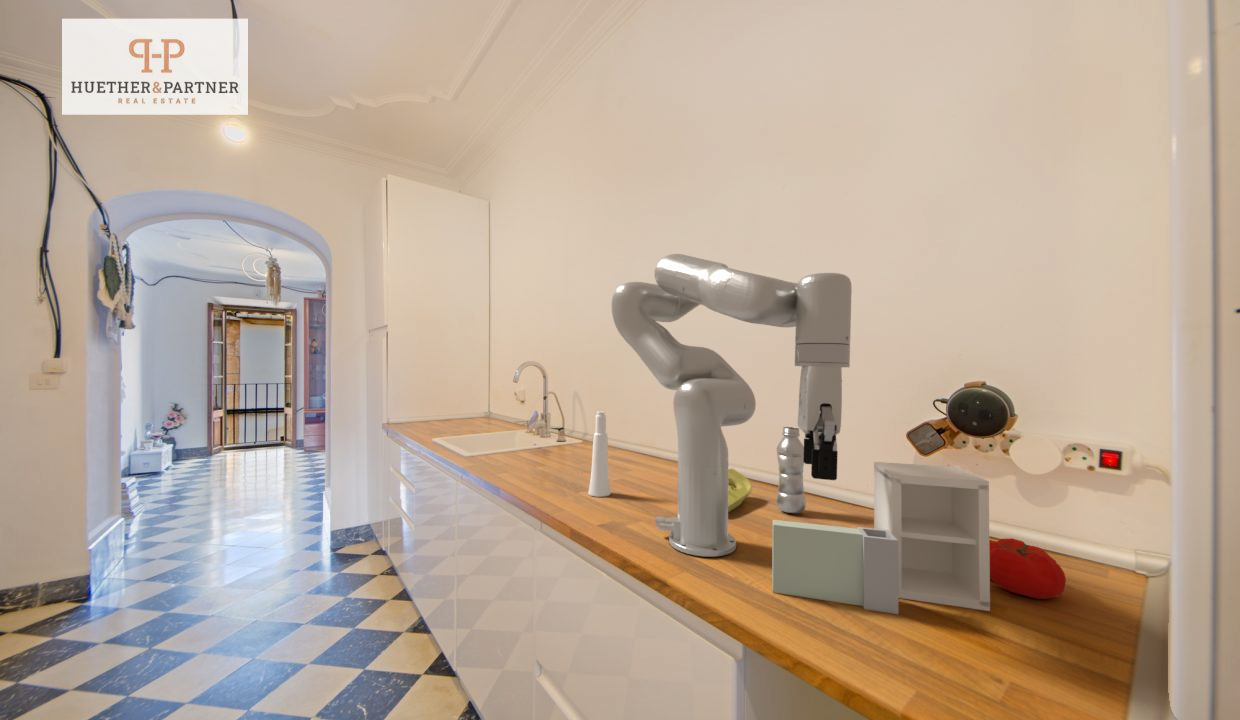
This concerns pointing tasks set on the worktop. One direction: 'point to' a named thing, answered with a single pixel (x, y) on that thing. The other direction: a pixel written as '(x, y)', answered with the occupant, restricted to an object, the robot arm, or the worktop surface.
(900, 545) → the cabinet
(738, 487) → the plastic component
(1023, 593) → the tomato
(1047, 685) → the worktop surface
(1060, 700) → the worktop surface
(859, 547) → the storage box
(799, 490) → the plastic bottle
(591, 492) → the cosmetic bottle
